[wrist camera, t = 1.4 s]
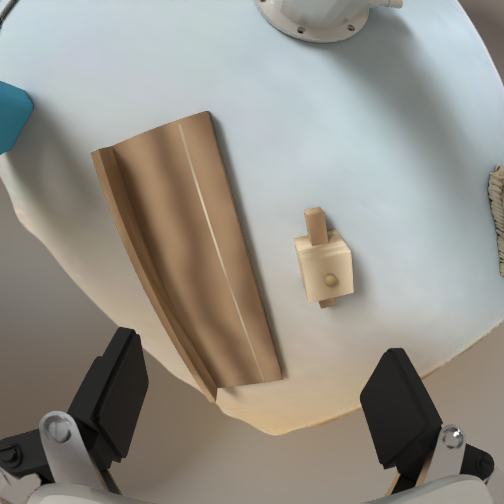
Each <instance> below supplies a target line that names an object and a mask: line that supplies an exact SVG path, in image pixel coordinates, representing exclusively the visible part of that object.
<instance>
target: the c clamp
mask: <svg viewBox="0 0 504 504" xmlns="http://www.w3.org/2000/svg"><path fill="white" fill-rule="evenodd" d="M15 1H16V0H10V1H9V2H8V4H7V5H6V7H5V8H4V9H3V11H2V12H1V13H0V23H1V19H3V18H4V16H5V15H6V13H7V12H8V11H9V9H10V8H11V7H12V5H13V4H14V3H15Z"/></svg>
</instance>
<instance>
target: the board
mask: <svg viewBox="0 0 504 504" xmlns="http://www.w3.org/2000/svg"><path fill="white" fill-rule="evenodd" d="M91 155H92V158H93V161H94V165H95V168H96V171H97V174H98V177H99V180H100V183H101V186H102V189H103V192H104V195H105V198H106V200H107V203H108V206H109V208H110V211H111V214H112V216H113V219H114V222H115V224H116V227H117V229H118V232H119V234H120V236H121V239H122V241H123V244H124V246H125V248H126V251H127V253H128V255H129V258H130V260H131V262H132V264H133V266H134V269H135V271H136V273H137V275H138V277H139V279H140V281H141V284H142V286H143V288H144V290H145V292H146V294H147V296H148V298H149V300H150V302H151V304H152V306H153V308H154V310H155V311H156V313H157V315H158V317H159V319H160V321H161V323H162V325H163V326H164V328H165V330H166V332H167V334H168V335H169V337H170V339H171V341H172V342H173V344H174V346H175V348H176V349H177V351H178V353H179V354H180V356H181V358H182V359H183V361H184V363H185V364H186V366H187V368H188V369H189V371H190V373H191V374H192V376H193V377H194V379H195V380H196V382H197V384H198V385H199V387H200V388H201V390H202V391H203V393H204V394H205V396H206V397H207V399H208V400H209V402H216V396H217V388H222V387H231V386H240V385H248V384H256V383H263V382H269V381H276V380H282V379H283V377H282V370H281V367H280V363H279V360H278V356H277V353H276V349H275V346H274V342H273V339H272V335H271V332H270V328H269V325H268V321H267V318H266V314H265V310H264V307H263V303H262V300H261V296H260V293H259V289H258V286H257V282H256V278H255V275H254V271H253V268H252V264H251V261H250V257H249V253H248V250H247V246H246V243H245V239H244V236H243V232H242V228H241V225H240V221H239V218H238V214H237V210H236V207H235V203H234V200H233V196H232V192H231V189H230V185H229V182H228V178H227V174H226V171H225V167H224V163H223V160H222V156H221V153H220V149H219V145H218V142H217V138H216V134H215V131H214V127H213V123H212V120H211V116H210V112H209V111H204V112H201V113H198V114H195V115H192V116H188V117H185V118H182V119H179V120H176V121H174V122H171V123H168V124H165V125H162V126H160V127H157V128H154V129H152V130H149V131H147V132H144V133H142V134H139V135H137V136H134V137H132V138H130V139H127V140H125V141H123V142H120V143H118V144H116V145H114V146H111V147H107V148H102V149H98V150H96V151H94V152H92V153H91Z"/></svg>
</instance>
